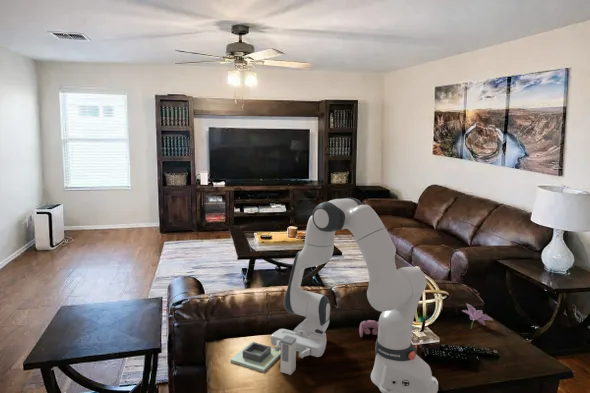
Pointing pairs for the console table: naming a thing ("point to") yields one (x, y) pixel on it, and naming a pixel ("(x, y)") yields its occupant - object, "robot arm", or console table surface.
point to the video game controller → (366, 325)
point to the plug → (288, 355)
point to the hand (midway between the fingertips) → (288, 352)
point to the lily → (476, 315)
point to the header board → (256, 356)
